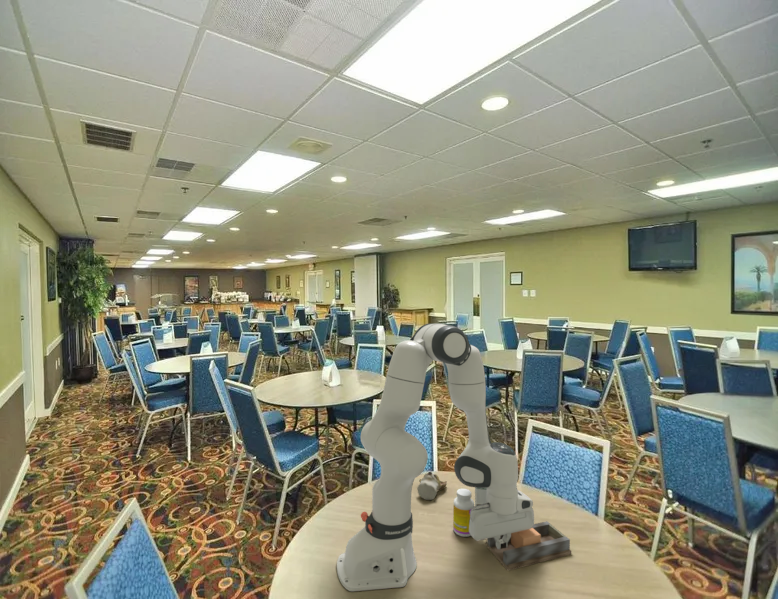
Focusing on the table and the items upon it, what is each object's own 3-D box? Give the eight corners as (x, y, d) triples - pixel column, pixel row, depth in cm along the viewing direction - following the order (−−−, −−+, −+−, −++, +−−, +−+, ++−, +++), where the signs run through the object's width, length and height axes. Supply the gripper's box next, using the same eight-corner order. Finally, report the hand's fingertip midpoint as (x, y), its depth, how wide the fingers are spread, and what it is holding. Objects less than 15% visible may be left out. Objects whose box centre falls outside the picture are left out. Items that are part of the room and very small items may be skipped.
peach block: (523, 555, 112) (523, 538, 112) (510, 542, 118) (510, 526, 118) (540, 551, 114) (540, 534, 114) (527, 539, 119) (527, 523, 119)
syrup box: (492, 521, 131) (493, 478, 130) (474, 518, 132) (475, 476, 132) (491, 511, 136) (492, 470, 136) (474, 509, 138) (474, 469, 137)
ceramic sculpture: (411, 476, 144) (422, 462, 158) (410, 499, 144) (422, 484, 158) (439, 481, 140) (448, 467, 154) (438, 506, 140) (447, 489, 154)
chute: (507, 570, 107) (507, 556, 107) (486, 545, 118) (486, 532, 118) (571, 554, 114) (571, 540, 114) (545, 532, 125) (545, 520, 125)
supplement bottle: (470, 540, 121) (471, 499, 120) (450, 534, 124) (450, 494, 123) (476, 528, 126) (476, 489, 126) (456, 523, 130) (457, 485, 129)
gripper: (476, 512, 107) (476, 562, 107) (537, 500, 113) (537, 547, 113) (465, 500, 113) (464, 547, 113) (523, 489, 119) (523, 534, 119)
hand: (501, 547), depth 113 cm, fingers closed
